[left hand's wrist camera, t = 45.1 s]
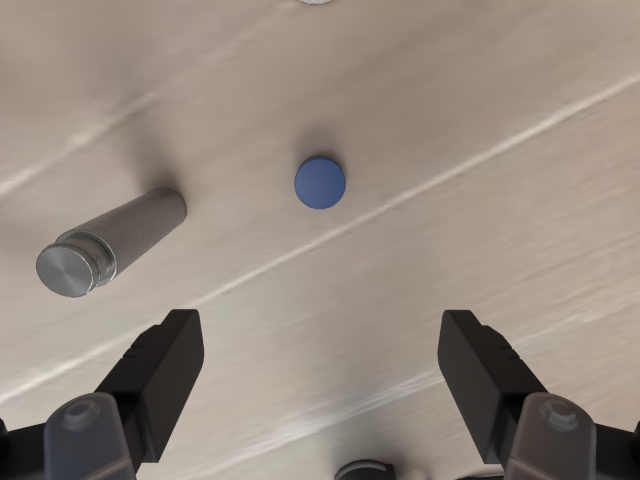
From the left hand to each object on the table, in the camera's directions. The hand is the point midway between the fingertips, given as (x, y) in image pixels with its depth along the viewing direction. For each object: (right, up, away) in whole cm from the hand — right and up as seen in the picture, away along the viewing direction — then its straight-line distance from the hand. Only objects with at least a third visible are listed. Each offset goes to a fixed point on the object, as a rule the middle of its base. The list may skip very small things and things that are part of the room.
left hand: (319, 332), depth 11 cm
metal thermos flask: (-17, +7, +26) cm, 32 cm away
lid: (0, +9, +23) cm, 25 cm away
